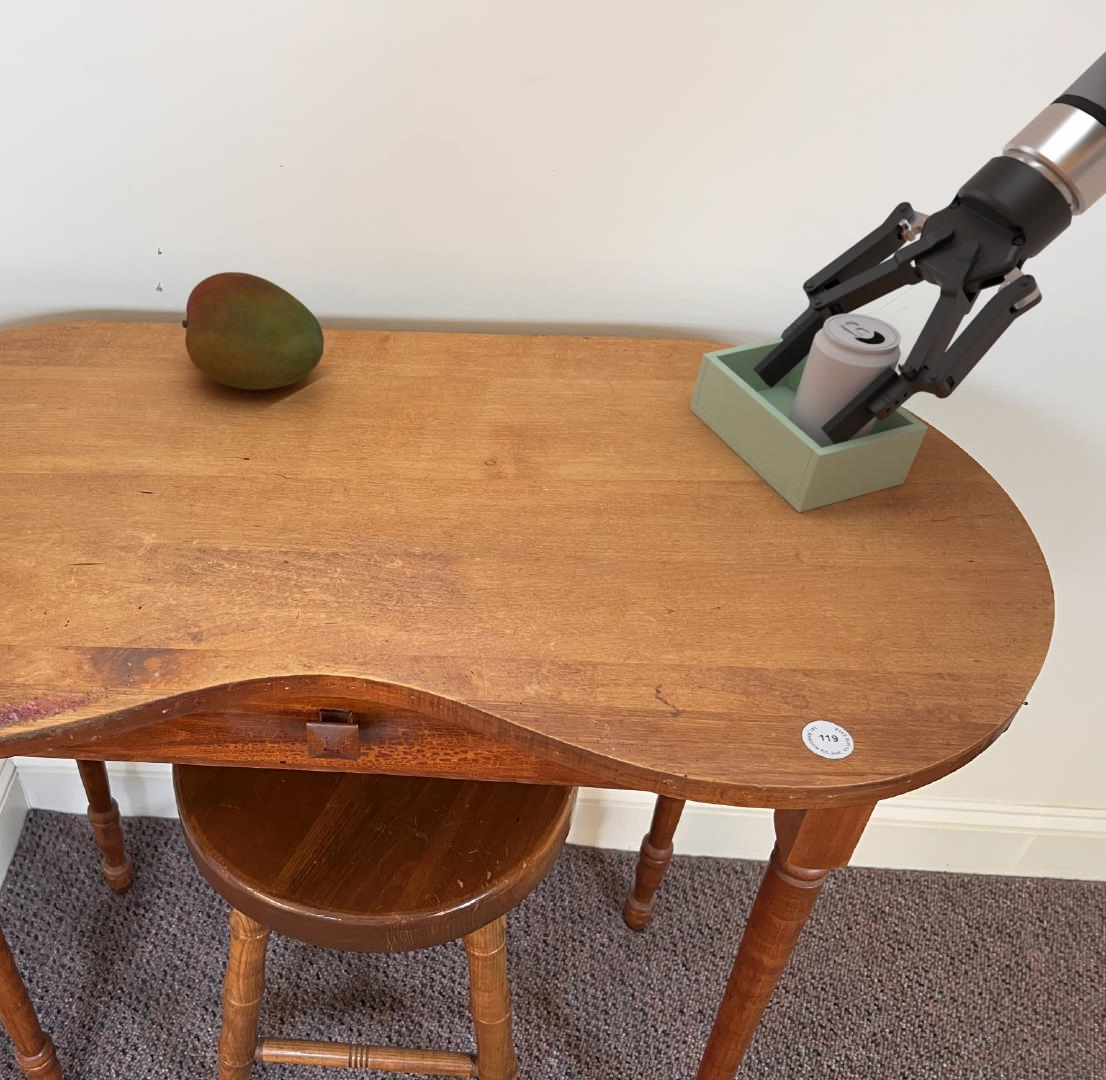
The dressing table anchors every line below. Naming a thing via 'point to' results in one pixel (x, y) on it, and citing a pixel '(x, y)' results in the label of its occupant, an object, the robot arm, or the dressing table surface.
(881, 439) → the bin
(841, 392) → the beverage can
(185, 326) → the fruit
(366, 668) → the dressing table surface
